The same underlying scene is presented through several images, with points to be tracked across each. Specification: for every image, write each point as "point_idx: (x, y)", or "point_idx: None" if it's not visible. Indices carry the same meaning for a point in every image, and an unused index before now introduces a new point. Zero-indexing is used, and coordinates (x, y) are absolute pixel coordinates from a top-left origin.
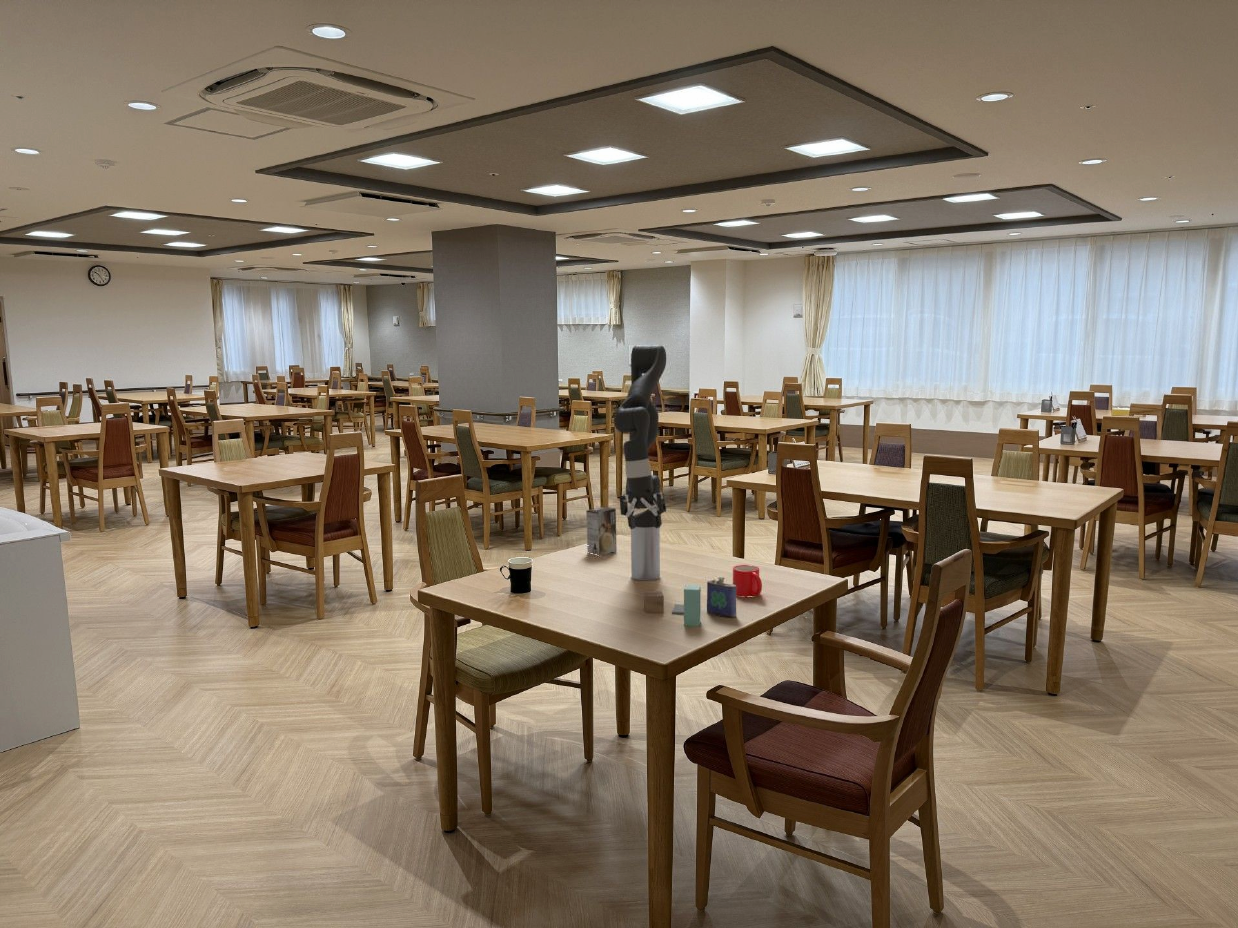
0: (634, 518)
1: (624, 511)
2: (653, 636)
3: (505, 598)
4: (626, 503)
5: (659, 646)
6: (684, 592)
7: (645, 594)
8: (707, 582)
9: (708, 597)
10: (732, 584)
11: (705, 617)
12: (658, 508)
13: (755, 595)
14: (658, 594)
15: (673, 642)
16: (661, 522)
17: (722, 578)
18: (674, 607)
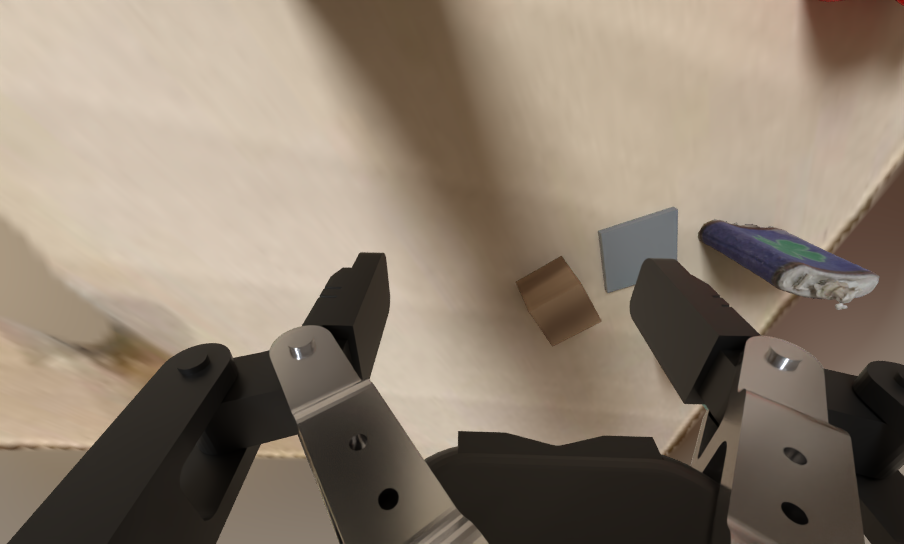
0: (361, 302)
1: (248, 454)
2: (601, 410)
3: (122, 385)
4: (142, 538)
5: (624, 435)
6: (706, 407)
7: (545, 335)
8: (775, 285)
9: (738, 262)
10: (868, 275)
11: (697, 275)
12: (826, 407)
13: (901, 4)
14: (583, 318)
15: (645, 415)
16: (713, 293)
17: (852, 298)
18: (606, 261)
